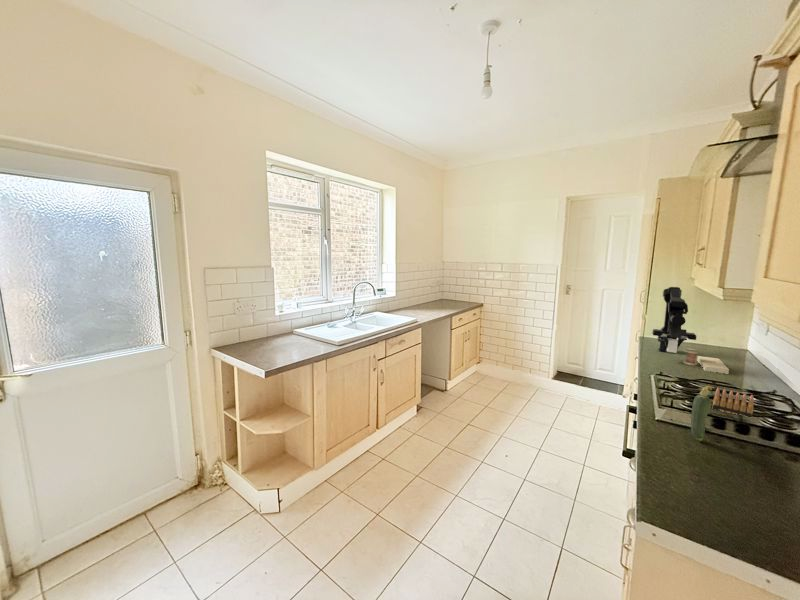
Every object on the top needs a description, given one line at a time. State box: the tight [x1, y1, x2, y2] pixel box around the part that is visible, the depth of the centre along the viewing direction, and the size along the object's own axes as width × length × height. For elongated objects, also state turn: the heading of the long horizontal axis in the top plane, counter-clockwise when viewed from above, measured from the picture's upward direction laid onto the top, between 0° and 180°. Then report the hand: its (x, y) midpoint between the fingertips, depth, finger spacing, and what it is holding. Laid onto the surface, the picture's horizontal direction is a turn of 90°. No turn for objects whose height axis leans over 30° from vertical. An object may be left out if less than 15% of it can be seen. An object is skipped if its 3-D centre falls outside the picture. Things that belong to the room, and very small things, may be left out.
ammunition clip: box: [711, 387, 755, 418], centre depth 120 cm, size 11×2×12 cm, turn 44°
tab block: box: [666, 338, 678, 354], centre depth 183 cm, size 4×4×7 cm
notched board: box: [696, 355, 730, 375], centre depth 176 cm, size 20×9×3 cm, turn 146°
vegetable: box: [690, 385, 713, 442], centre depth 108 cm, size 4×4×20 cm
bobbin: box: [682, 348, 700, 366], centre depth 181 cm, size 6×6×8 cm
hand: (671, 348), depth 183 cm, fingers closed on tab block, 4 cm apart
